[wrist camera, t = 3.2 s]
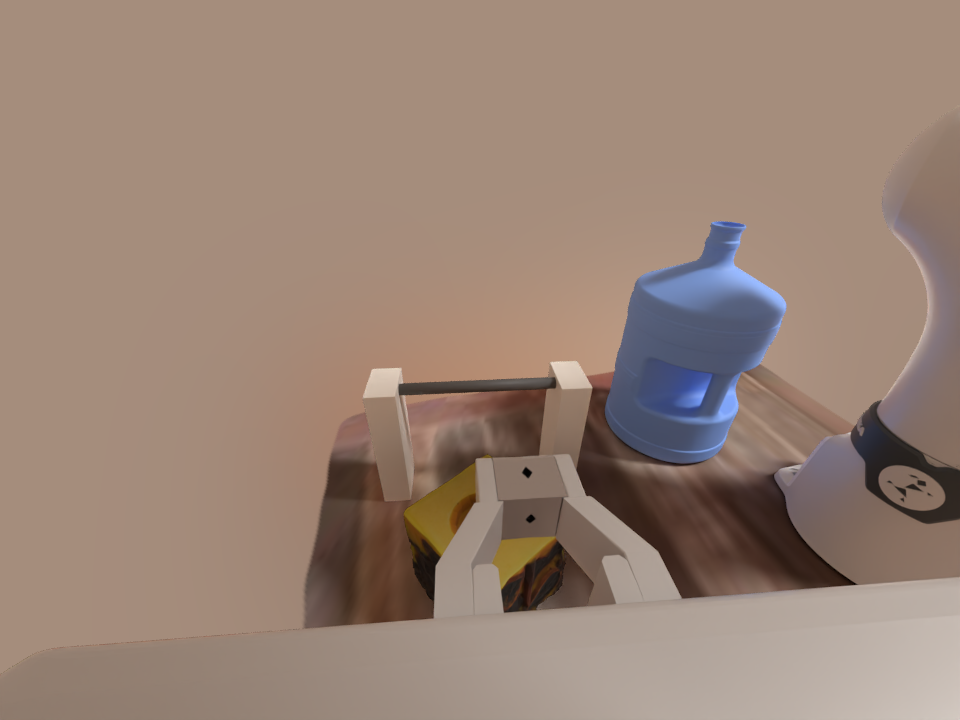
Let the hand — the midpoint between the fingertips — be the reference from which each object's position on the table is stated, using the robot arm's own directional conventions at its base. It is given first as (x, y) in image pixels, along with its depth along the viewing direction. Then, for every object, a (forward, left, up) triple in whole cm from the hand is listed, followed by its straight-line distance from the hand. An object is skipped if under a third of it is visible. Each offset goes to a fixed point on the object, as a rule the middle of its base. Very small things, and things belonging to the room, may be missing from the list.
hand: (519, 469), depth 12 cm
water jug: (-36, -19, -27) cm, 48 cm away
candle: (-4, -9, -27) cm, 29 cm away
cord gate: (-8, -21, -27) cm, 35 cm away
